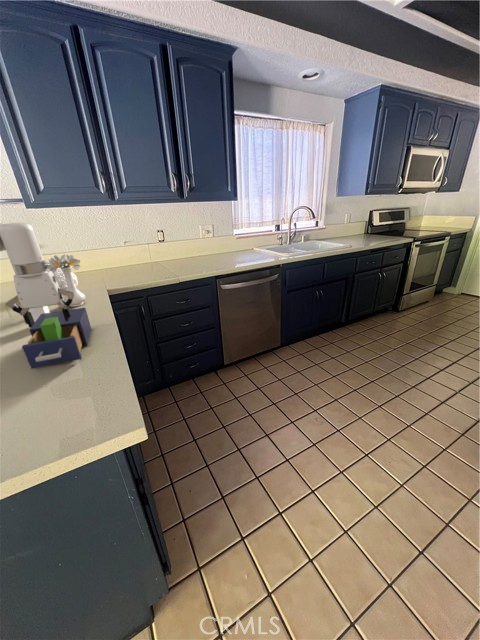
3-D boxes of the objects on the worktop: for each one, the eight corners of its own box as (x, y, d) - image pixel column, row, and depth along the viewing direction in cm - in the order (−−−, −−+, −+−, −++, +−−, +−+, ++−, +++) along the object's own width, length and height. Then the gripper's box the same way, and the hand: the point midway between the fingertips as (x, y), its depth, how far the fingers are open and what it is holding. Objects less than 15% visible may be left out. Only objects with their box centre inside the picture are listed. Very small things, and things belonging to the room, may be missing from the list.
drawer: (78, 367, 80) (71, 344, 77) (26, 378, 76) (16, 354, 73) (85, 340, 96) (80, 321, 93) (42, 348, 91) (34, 328, 88)
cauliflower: (65, 282, 140) (51, 256, 141) (38, 300, 141) (23, 274, 141) (89, 288, 160) (76, 265, 161) (65, 303, 160) (52, 280, 161)
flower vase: (92, 297, 144) (79, 250, 134) (88, 308, 129) (73, 256, 118) (65, 300, 140) (49, 252, 130) (57, 312, 124) (39, 259, 114)
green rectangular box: (51, 357, 84) (39, 325, 80) (55, 348, 89) (44, 318, 85) (64, 354, 85) (53, 323, 81) (67, 346, 90) (57, 316, 86)
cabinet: (87, 345, 94) (80, 321, 90) (39, 355, 89) (29, 329, 85) (91, 329, 107) (85, 307, 103) (49, 336, 102) (41, 313, 98)
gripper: (67, 262, 82) (82, 313, 89) (-2, 269, 76) (21, 323, 83) (62, 267, 76) (79, 321, 83) (-13, 275, 70) (13, 333, 77)
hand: (50, 322), depth 83 cm, fingers open, 9 cm apart
